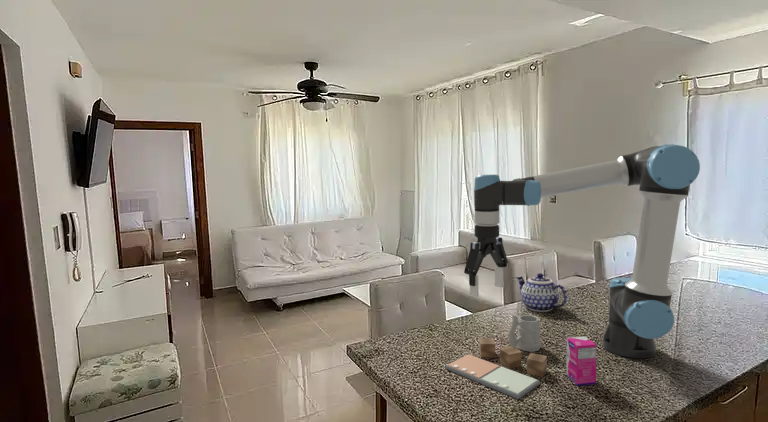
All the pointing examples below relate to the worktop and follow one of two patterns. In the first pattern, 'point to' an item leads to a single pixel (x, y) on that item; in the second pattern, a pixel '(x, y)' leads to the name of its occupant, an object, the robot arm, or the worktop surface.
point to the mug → (525, 333)
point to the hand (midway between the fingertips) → (486, 291)
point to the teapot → (540, 293)
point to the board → (493, 376)
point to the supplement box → (581, 360)
